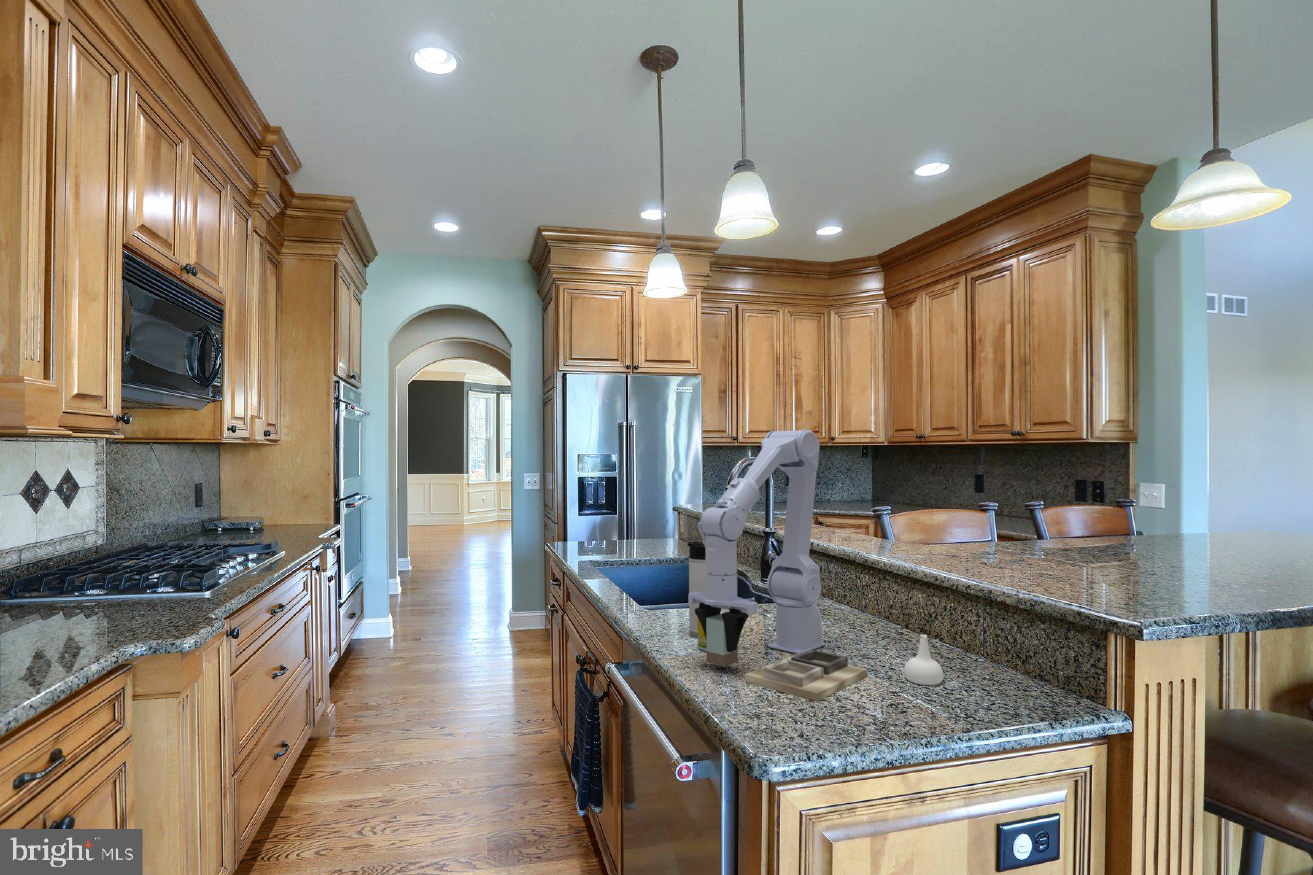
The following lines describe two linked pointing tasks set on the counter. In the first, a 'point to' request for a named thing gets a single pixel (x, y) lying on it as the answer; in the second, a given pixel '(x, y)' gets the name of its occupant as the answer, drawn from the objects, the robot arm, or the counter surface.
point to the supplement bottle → (702, 637)
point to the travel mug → (696, 580)
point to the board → (808, 674)
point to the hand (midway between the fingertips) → (722, 648)
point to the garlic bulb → (923, 666)
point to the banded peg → (718, 643)
